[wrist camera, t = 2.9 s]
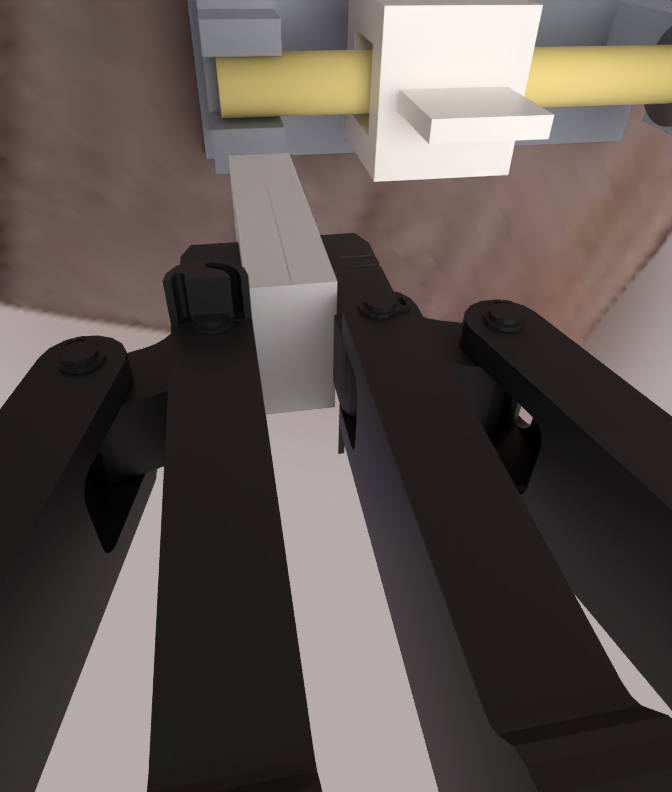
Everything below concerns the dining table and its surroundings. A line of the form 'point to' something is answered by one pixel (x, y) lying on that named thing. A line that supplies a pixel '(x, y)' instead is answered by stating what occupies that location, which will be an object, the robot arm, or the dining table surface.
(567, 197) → the dining table surface
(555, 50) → the grey rod stand
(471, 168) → the sleeve
